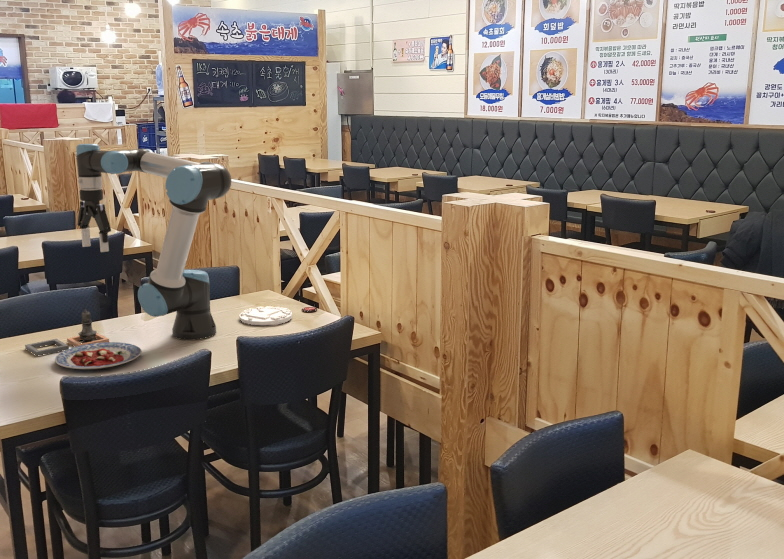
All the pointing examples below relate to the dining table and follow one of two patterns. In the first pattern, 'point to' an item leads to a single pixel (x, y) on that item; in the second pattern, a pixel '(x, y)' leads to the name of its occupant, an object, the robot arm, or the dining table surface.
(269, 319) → the embossed medallion
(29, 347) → the socket
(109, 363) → the ceramic plate
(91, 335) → the chess piece
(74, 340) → the socket
